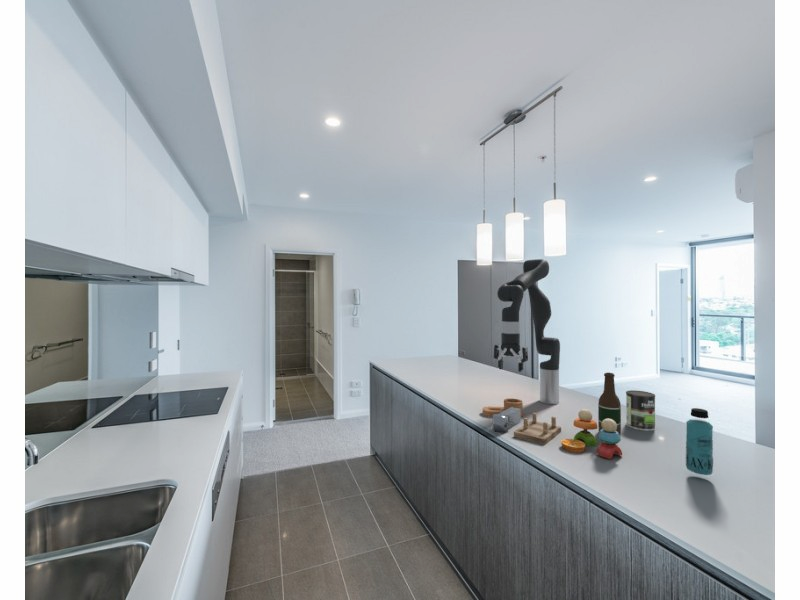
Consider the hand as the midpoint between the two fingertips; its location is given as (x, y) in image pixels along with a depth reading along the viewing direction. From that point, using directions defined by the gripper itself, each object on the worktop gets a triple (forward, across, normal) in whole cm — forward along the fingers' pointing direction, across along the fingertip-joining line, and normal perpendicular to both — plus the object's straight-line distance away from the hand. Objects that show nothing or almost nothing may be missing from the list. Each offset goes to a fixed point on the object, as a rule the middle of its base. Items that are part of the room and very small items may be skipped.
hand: (510, 370), depth 154 cm
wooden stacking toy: (+24, -32, +4) cm, 40 cm away
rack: (+24, -12, +2) cm, 27 cm away
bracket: (+24, +9, -12) cm, 28 cm away
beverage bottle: (+24, -62, +4) cm, 66 cm away
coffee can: (+24, -41, -35) cm, 59 cm away
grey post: (+24, +1, 0) cm, 24 cm away
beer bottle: (+24, -33, -18) cm, 45 cm away
